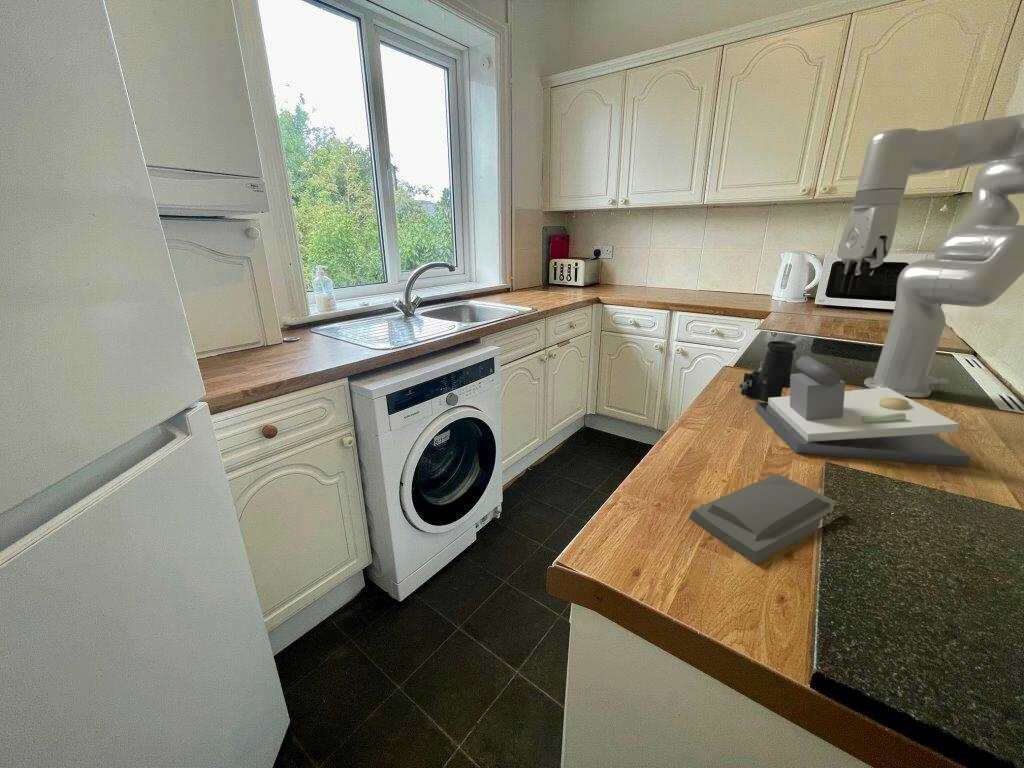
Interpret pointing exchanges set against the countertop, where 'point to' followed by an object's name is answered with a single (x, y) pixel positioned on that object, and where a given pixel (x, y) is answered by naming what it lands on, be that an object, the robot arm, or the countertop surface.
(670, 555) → the countertop surface
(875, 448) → the leveling base
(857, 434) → the leveling plate
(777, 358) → the scope
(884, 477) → the countertop surface
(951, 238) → the robot arm
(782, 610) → the countertop surface
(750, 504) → the soap mold
